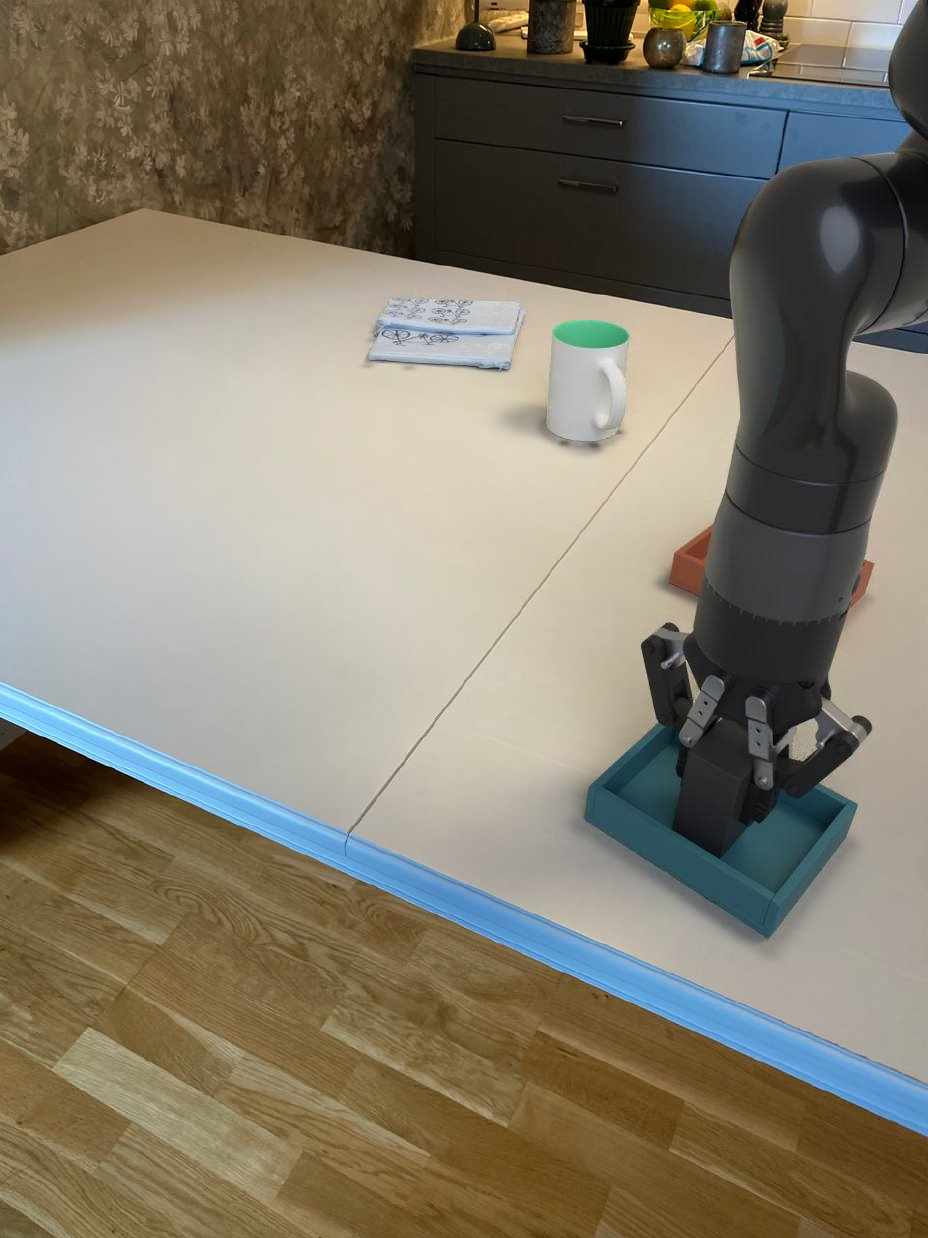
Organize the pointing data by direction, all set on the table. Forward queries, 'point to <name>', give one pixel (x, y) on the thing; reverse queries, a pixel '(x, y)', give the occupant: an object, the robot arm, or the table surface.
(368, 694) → the table surface
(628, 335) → the mug
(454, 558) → the table surface
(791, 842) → the teal bin
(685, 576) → the terracotta bin
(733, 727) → the block
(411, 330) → the light blue folded towel
